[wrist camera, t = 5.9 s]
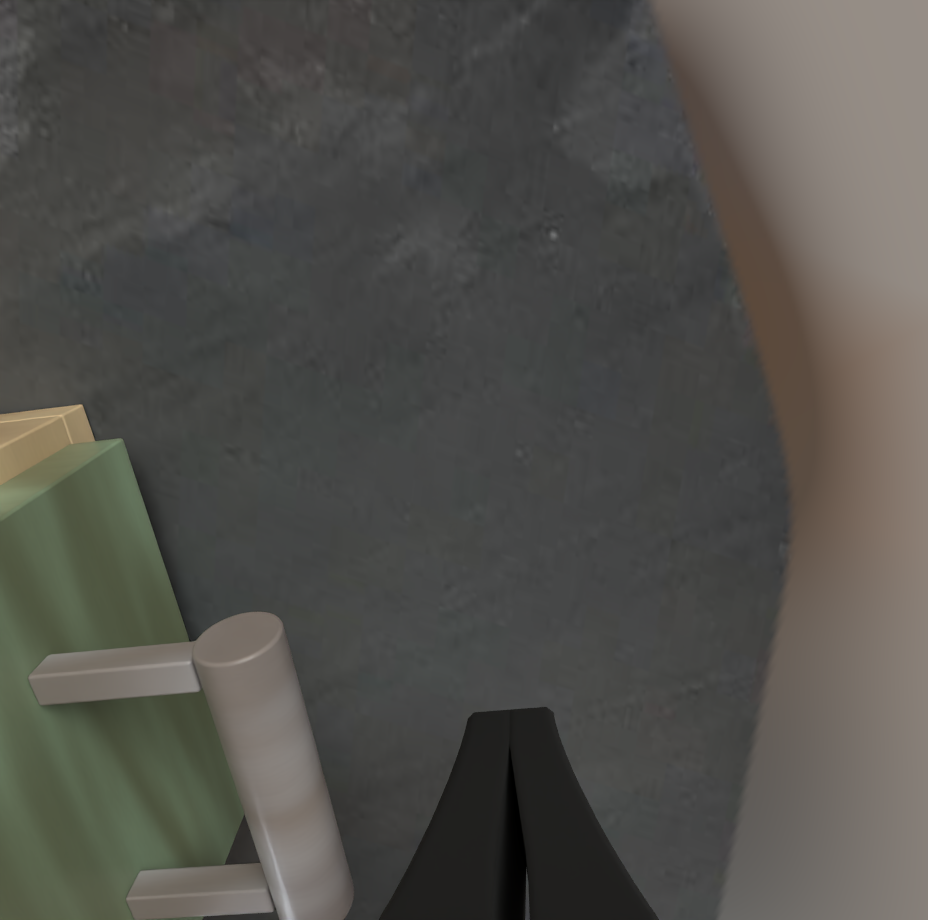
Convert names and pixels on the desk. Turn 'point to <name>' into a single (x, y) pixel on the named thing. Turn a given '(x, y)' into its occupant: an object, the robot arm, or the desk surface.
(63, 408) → the cabinet
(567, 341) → the desk surface
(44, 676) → the drawer
